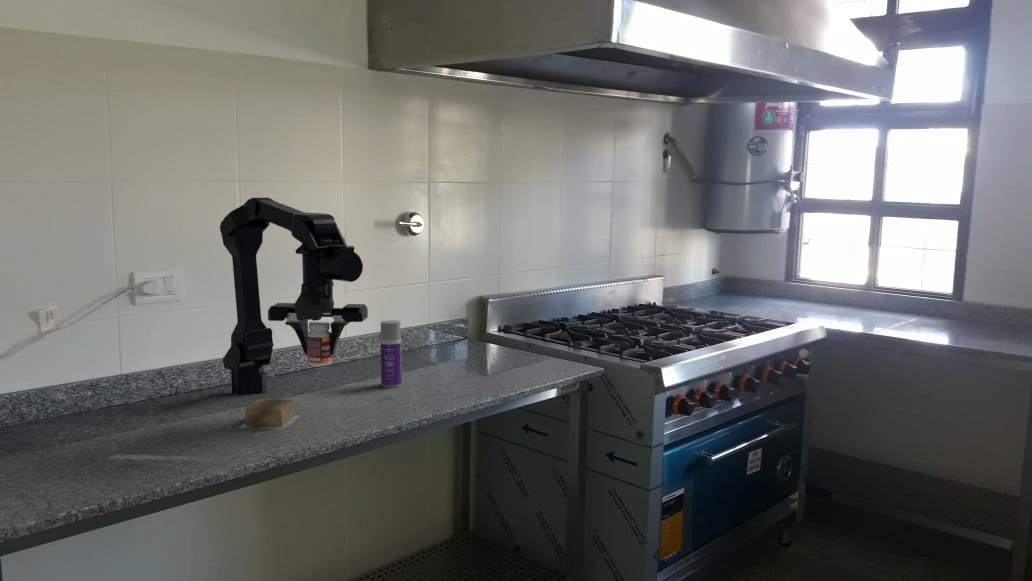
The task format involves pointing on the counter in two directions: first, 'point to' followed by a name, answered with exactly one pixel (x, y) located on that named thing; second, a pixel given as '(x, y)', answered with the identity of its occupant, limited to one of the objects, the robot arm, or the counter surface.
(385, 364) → the container
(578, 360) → the counter surface
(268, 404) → the walnut block
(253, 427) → the plate
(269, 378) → the counter surface
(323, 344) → the pill bottle
